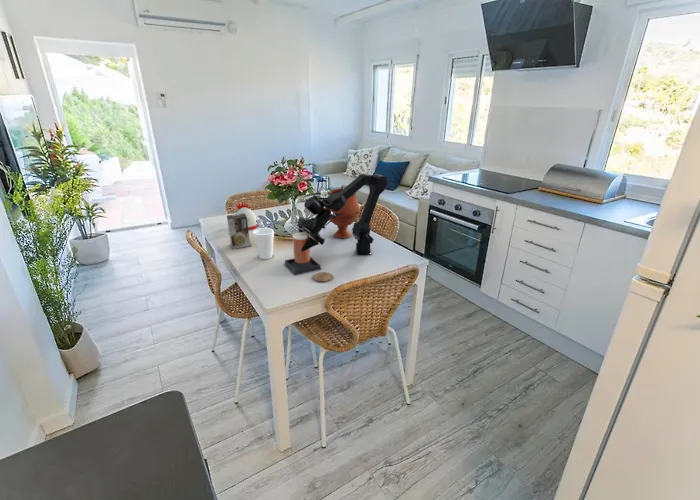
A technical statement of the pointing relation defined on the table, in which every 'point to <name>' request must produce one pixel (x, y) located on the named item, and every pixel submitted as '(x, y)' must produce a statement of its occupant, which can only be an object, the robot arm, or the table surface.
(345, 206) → the terracotta vase
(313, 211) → the robot arm
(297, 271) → the tray
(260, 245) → the foam cup
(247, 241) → the coffee box
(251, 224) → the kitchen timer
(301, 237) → the canister
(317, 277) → the coaster
